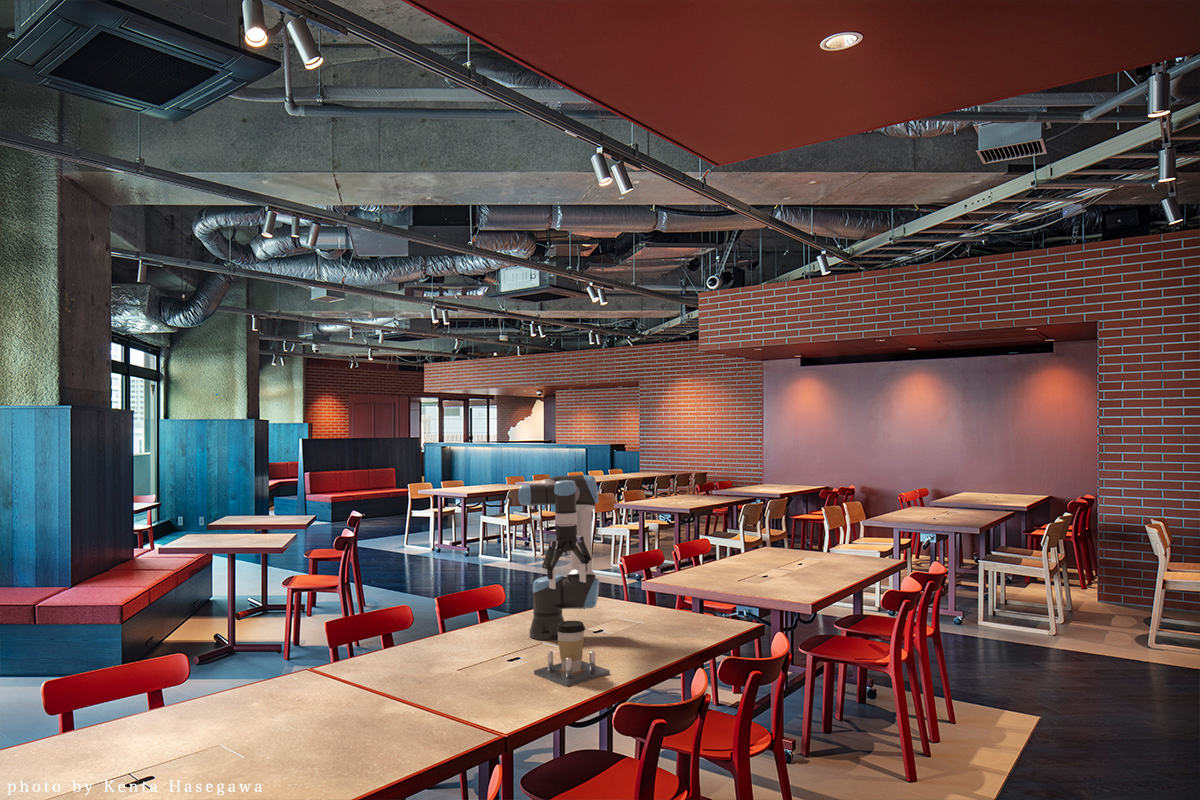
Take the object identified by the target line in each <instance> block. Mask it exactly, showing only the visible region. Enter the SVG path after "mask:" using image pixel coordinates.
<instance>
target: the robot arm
mask: <svg viewBox="0 0 1200 800" xmlns="http://www.w3.org/2000/svg"><path fill="white" fill-rule="evenodd" d="M597 486H598V485H597V481H596V477H594V476H593V475H589V474H587V475H586V474H583V475H576V474H575V475H557V476H553V477H552V476H551V477H548V478H544V479H543V480H540V481H539V482H538V483H535V484H522V485H520V486H519V488H518V502H519V504H520V505H522V506H546V505H547V506H552V505H553V506H554V508H555V509H554V510H555V511H554V512H555V513H554V515H555V518H554V519H555V525H556V526H555V537H556V540H549V541H548V549H547V551H546V554H545V557H544V560H543V563H542V565H541V566H542V569H545V570H546V571H547V575H546V576H541V577H539V578H538V577H537V578H536V579H535V580H534V581H533V583H532V601H533V602H532V604H533V605H532V607H533V609H532V610H533V611H532V612H533V617H532V621H531V624H530V628H529V637H530V638H531V639H534V640H539V641H540V640H541V641H542V640H543V641H549V640H550V641H551V640H558V632H557V631H556V628H557V627H558V623H560V622H563V621H565V619H564V617H563V610H575V609H576V610H579V609H580V610H582V609H583V610H586V609H594V608H596V606H597V603H598V598H599V592H600V579H599V578H597V577H596V573H595V572H594V571H593V569H592V568H593V565H592V564H593V563H592V562H593V559H592V557H593V555H592V553H593V551H592V549H593V547H592V542H593V540H592V530H593V529H592V522H593V521H592V513H593V512H592V511H594V509H595V508H596V504H598V503H600V502H599V493H598V491H599V490H598V487H597ZM567 552H570V570H569V571H568V573H567V575H566V578H564V579H563V578H562V575H559V574H556V570H555V567H556V565H557V563H558V561H559V560H560V558H561V556H562V555H563V554H565V553H567Z"/></svg>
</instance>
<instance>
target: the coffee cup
mask: <svg viewBox="0 0 1200 800" xmlns="http://www.w3.org/2000/svg"><path fill="white" fill-rule="evenodd" d="M556 631H557V632H558V639H557V641H558V642H557V643H558V650H559V657H560V663H562V670H563V671H565V672H566V658H567V657H571V665H572V672H576V671H579V670H581V661H583V660H582V659H583V650H584V640H585V637H584V634H585V633H584V632H585V631H586V626H585V625H584V622H582V621H581V620H564V621H563V622H560V623H558V627H557V628H556Z"/></svg>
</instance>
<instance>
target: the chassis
mask: <svg viewBox="0 0 1200 800" xmlns="http://www.w3.org/2000/svg"><path fill="white" fill-rule="evenodd" d="M610 671H611V670H609V669H608V668H604V667H601V666H598V665H596V651H594V650H591V651H589V662H586V661H583V660H582V661H581V670H579V671H576V672H572V665H571V657H567V658H566V672H565V671H563V670H562V663H561V662H560V663H556V664H554V652H553V651H551V650H550V651H547V666H545V667H542V668H537V669H534V670H533V675H536V676H538V677H541V678H543V679H546V680H548V681H552V682H554V683H557V684H559V685H562V686H563V687H564V686H565V687H570V686H573V684H574V685H577V684H580V682H581V683H584V682H587V681H590V680H593V679H598V678H600V677H603V676H608V675H610V673H611V672H610ZM583 681H584V682H583Z"/></svg>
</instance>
